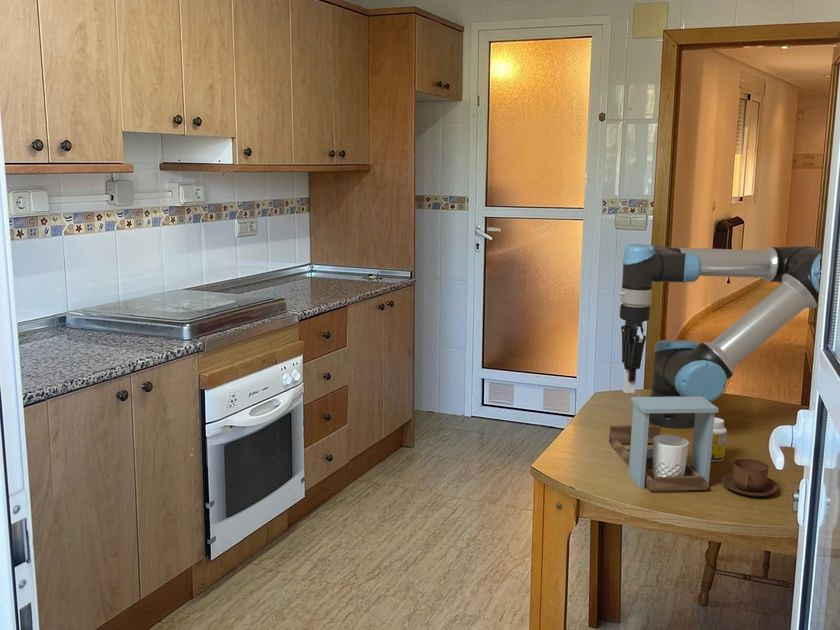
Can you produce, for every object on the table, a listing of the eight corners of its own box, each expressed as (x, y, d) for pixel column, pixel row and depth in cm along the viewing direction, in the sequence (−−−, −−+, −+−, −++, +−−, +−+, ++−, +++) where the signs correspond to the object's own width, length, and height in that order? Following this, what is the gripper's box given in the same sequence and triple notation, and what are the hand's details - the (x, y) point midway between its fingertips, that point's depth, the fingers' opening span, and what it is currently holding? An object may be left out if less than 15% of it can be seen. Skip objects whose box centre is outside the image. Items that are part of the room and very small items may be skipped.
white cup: (684, 476, 197) (687, 436, 195) (686, 489, 190) (690, 447, 188) (649, 473, 199) (652, 433, 197) (650, 486, 191) (653, 444, 189)
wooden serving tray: (609, 441, 218) (610, 425, 217) (657, 440, 219) (659, 425, 218) (650, 490, 187) (651, 472, 186) (707, 489, 188) (708, 471, 187)
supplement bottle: (695, 456, 210) (698, 417, 208) (712, 453, 212) (716, 415, 210) (711, 464, 205) (714, 424, 203) (728, 461, 207) (732, 421, 205)
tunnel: (625, 474, 198) (631, 397, 194) (695, 473, 199) (702, 396, 195) (638, 489, 189) (644, 409, 185) (711, 488, 190) (718, 408, 187)
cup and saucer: (783, 503, 183) (786, 476, 182) (726, 498, 185) (728, 472, 184) (769, 482, 195) (772, 457, 194) (716, 477, 197) (718, 453, 196)
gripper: (613, 299, 222) (607, 385, 227) (629, 309, 210) (622, 399, 214) (641, 299, 223) (634, 385, 228) (658, 309, 210) (651, 399, 215)
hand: (628, 392), depth 221 cm, fingers closed
